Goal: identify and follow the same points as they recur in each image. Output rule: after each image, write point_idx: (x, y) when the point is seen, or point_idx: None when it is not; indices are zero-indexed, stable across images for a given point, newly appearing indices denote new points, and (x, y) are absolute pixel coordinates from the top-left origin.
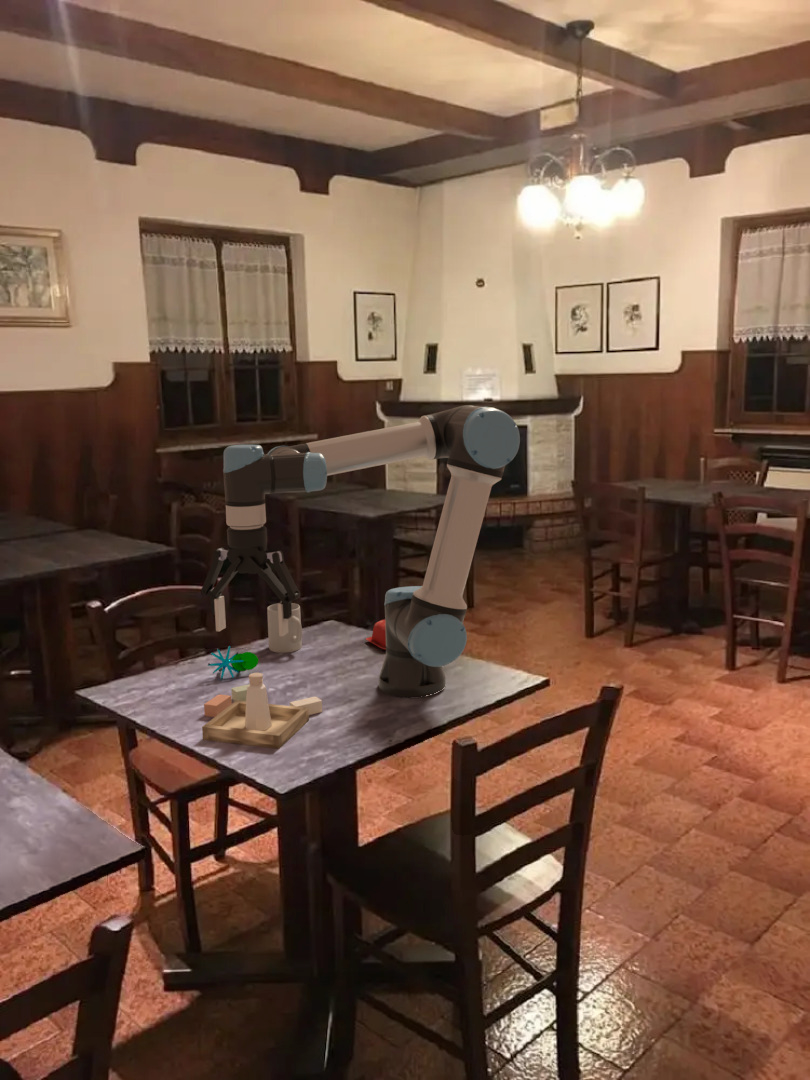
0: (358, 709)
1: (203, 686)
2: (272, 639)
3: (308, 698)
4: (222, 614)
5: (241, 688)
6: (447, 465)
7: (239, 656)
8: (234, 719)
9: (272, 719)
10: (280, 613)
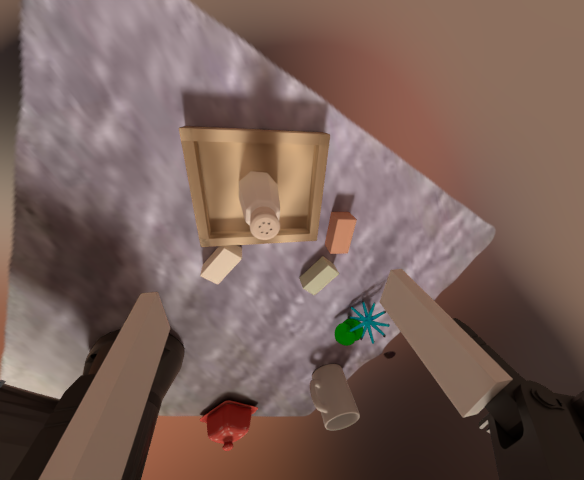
0: (162, 287)
1: (376, 283)
2: (339, 376)
3: (223, 276)
4: (415, 329)
5: (326, 276)
6: None
7: (357, 335)
8: (302, 204)
9: None
10: (94, 396)
